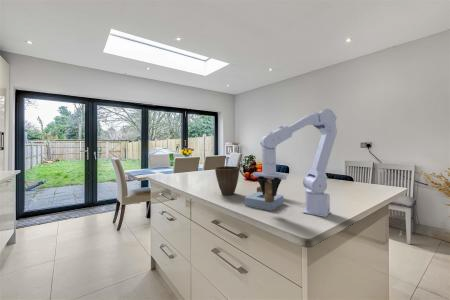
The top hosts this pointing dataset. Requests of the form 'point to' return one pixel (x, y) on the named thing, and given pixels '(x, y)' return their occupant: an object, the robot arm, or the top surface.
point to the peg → (269, 192)
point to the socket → (263, 201)
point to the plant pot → (227, 179)
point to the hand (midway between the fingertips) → (269, 194)
